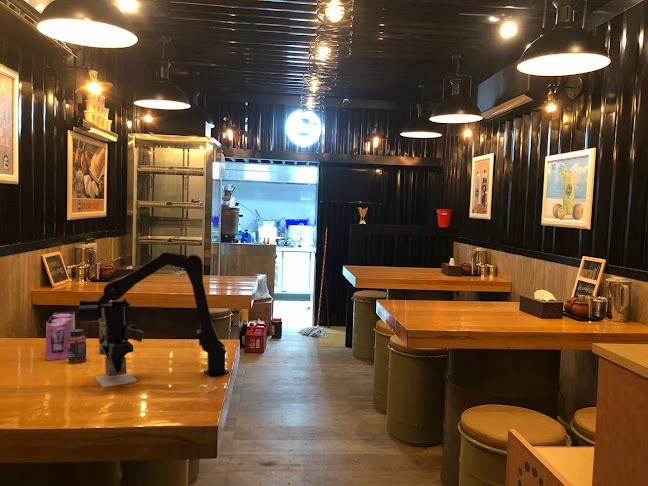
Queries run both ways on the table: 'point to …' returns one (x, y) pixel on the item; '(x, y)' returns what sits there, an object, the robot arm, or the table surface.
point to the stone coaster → (115, 379)
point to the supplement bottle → (76, 346)
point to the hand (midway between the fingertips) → (116, 370)
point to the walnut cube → (111, 370)
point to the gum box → (59, 335)
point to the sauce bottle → (102, 328)
